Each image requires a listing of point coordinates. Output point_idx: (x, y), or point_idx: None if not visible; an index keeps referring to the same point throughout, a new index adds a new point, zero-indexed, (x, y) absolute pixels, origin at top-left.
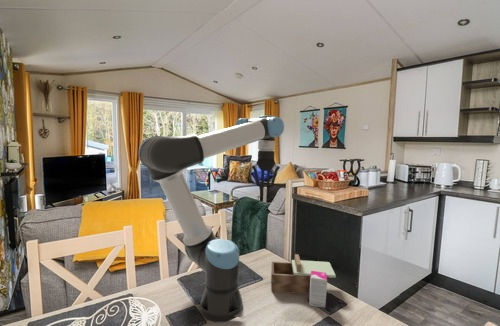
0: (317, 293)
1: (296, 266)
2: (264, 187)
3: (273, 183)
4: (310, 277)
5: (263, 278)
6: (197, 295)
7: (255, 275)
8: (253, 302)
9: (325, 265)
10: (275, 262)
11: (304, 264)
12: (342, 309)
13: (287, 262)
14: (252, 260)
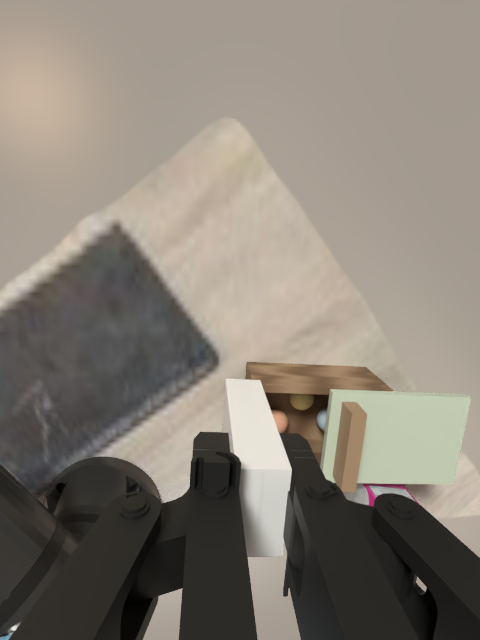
0: None
1: (337, 468)
2: (249, 502)
3: (430, 629)
4: (368, 498)
5: (221, 359)
6: (22, 464)
7: (193, 342)
8: (189, 479)
9: (446, 424)
10: (267, 392)
11: (372, 424)
12: (413, 484)
13: (314, 387)
14: (179, 226)
